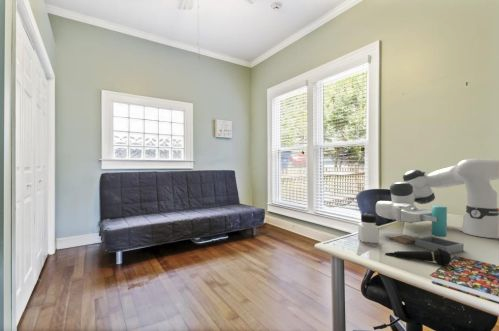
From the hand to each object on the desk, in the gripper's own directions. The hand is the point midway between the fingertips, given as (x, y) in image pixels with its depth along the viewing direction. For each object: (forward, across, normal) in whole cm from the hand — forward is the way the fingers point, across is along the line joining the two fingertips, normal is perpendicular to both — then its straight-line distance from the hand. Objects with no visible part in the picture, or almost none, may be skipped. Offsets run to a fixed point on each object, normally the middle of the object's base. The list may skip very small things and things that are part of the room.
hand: (441, 218), depth 101 cm
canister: (-1, 0, -7) cm, 7 cm away
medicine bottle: (-20, +19, -13) cm, 30 cm away
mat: (-14, +2, -12) cm, 19 cm away
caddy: (-1, 0, -12) cm, 13 cm away
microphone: (+3, +22, -13) cm, 26 cm away
